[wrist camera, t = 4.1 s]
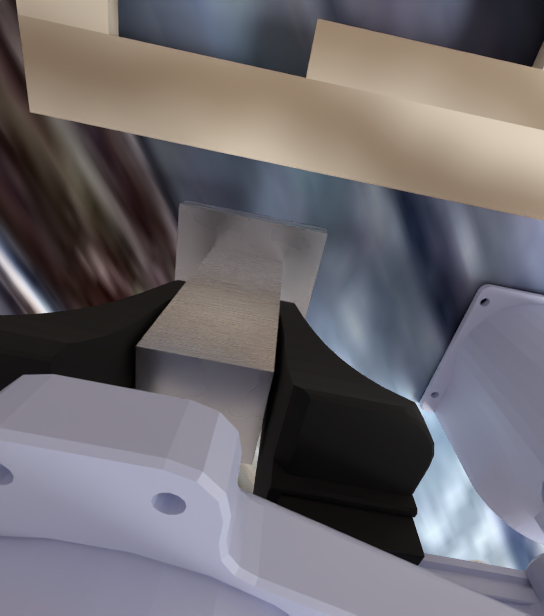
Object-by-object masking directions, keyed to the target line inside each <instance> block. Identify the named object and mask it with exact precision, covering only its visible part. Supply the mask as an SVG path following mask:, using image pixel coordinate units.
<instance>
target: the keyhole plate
mask: <svg viewBox="0 0 544 616" xmlns="http://www.w3.org/2000/svg"><path fill="white" fill-rule="evenodd" d="M16 5H17V13H18V21H19V29H20V37H21V45H22V53H23V61H24V69H25V77H26V84H27V92H28V100H29V108H30V112H32V113H37V114H41V115H46V116H51V117H56V118H60V119H65V120H70V121H75V122H79V123H84V124H89V125H94V126H98V127H103V128H108V129H112V130H117V131H122V132H127V133H131V134H136V135H141V136H146V137H150V138H155V139H160V140H165V141H169V142H174V143H179V144H184V145H188V146H193V147H198V148H203V149H207V150H212V151H217V152H221V153H226V154H231V155H236V156H240V157H245V158H250V159H255V160H259V161H264V162H269V163H274V164H278V165H283V166H288V167H293V168H297V169H302V170H307V171H312V172H316V173H321V174H326V175H331V176H335V177H340V178H345V179H349V180H354V181H359V182H364V183H368V184H373V185H378V186H383V187H387V188H392V189H397V190H402V191H406V192H411V193H416V194H421V195H425V196H430V197H435V198H440V199H444V200H449V201H454V202H458V203H463V204H468V205H473V206H477V207H482V208H487V209H492V210H496V211H501V212H506V213H511V214H515V215H520V216H525V217H530V218H534V219H539V220H544V41H543V44H542V46H541V48H540V50H539V53H538V55H537V57H536V59H535V61H534V64H533V66H532V67H529V66H524V65H520V64H516V63H511V62H507V61H502V60H498V59H494V58H489V57H485V56H480V55H476V54H472V53H467V52H463V51H458V50H454V49H450V48H445V47H441V46H436V45H432V44H428V43H423V42H419V41H414V40H410V39H406V38H401V37H397V36H392V35H388V34H384V33H379V32H375V31H370V30H366V29H362V28H357V27H353V26H348V25H344V24H340V23H335V22H331V21H326V20H322V19H317V24H316V29H315V34H314V39H313V45H312V50H311V55H310V60H309V65H308V70H307V75H306V78H304V77H300V76H295V75H291V74H286V73H282V72H277V71H272V70H268V69H263V68H259V67H254V66H250V65H245V64H241V63H236V62H232V61H227V60H223V59H218V58H214V57H209V56H205V55H200V54H195V53H191V52H186V51H182V50H177V49H173V48H168V47H164V46H159V45H155V44H150V43H146V42H141V41H137V40H132V39H128V38H123V37H119V32H118V0H16Z"/></svg>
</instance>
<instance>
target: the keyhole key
mask: <svg viewBox="0 0 544 616" xmlns="http://www.w3.org/2000/svg"><path fill="white" fill-rule="evenodd" d="M327 235H328V233H327V230H326V228H323V227H318V226H313V225H308V224H303V223H298V222H293V221H288V220H283V219H278V218H273V217H268V216H263V215H259V214H254V213H249V212H244V211H239V210H234V209H229V208H224V207H219V206H214V205H209V204H204V203H199V202H194V201H190V200H186V201H184V202H182V203H180V204H179V218H178V235H177V253H176V270H175V281H176V280H182V281H186V283H185V284H184V285H183V286H182V288H181V289H180V290H179V292H178V293H177V294H176V295H175V297H174V298H173V299H172V301H171V302H170V303H169V304H168V306H167V307H166V308H165V309H164V311H163V312H162V313H161V315H160V316H159V317H158V318H157V320H156V321H155V322H154V324H153V325H152V326H151V327H150V329H149V330H148V331H147V332H146V334H145V335H144V336H143V338H142V339H141V340H140V341H139V343H138V344H137V345H136V390H141V391H146V392H151V393H157V394H162V395H167V396H173V397H178V398H183V399H189V400H192V401H195V402H197V403H200V404H202V405H205V406H207V407H210V408H212V409H215V410H217V411H219V412H220V413H221V414H222V415H223V416H224V417H225V418H226V419H227V420H228V421H229V422H230V423H231V424H232V425H233V426H234V427H235V428H236V429H237V430H238V431H239V437H240V443H241V450H242V456H241V462H240V463H246V464H252V463H253V458H254V454H255V450H256V446H257V441H258V437H259V433H260V429H261V424H262V420H263V416H264V412H265V408H266V403H267V399H268V395H269V391H270V386H271V382H272V378H273V374H274V365H275V353H276V342H277V331H278V319H279V308H280V300H282V301H287V302H292V303H295V305H296V306H297V308H298V309H299V311H300V312H301V314H302V316H303V317H304V319H305V318H306V314H307V310H308V307H309V303H310V299H311V295H312V291H313V288H314V284H315V280H316V276H317V273H318V269H319V265H320V261H321V258H322V254H323V250H324V246H325V243H326V239H327Z"/></svg>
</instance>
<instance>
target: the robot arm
mask: <svg viewBox="0 0 544 616" xmlns="http://www.w3.org/2000/svg"><path fill="white" fill-rule="evenodd" d="M185 283H186V281H182V280H176V281H173V282H170V283H167V284H164V285H161V286H159V287H156V288H153V289H151V290H148V291H145V292H143V293H140V294H137V295H134V296H130V297H127V298H124V299H121V300H118V301H114V302H110V303H106V304H102V305H97V306H93V307H88V308H82V309H75V310H68V311H60V312H53V313H41V314H26V315H0V616H544V554H540V555H539V556H537V557H535V558H534V559H533V560H532V561H531V562H530V564H529V565H528V566H527V568H526V570H525V571H522V570H516V569H510V568H505V567H499V566H494V565H488V564H482V563H477V562H471V561H465V560H460V559H454V558H448V557H443V556H437V555H432V554H426V553H424V552H423V549H422V546H421V543H420V540H419V536H418V533H417V530H416V527H415V524H414V521H413V517H415V516H416V515H417V507H416V504H415V501H414V498H413V495H412V494H413V493H414V491H415V489H416V488H417V486H418V484H419V483H420V481H421V479H422V478H423V476H424V475H425V473H426V471H427V470H428V468H429V466H430V464H431V461H432V459H433V456H434V442H433V439H432V437H431V434H430V432H429V430H428V427H427V425H426V423H425V421H424V418H423V417H422V415H421V413H420V411H419V409H418V407H417V405H416V403H415V402H413V401H411V400H408V399H406V398H404V397H402V396H400V395H398V394H396V393H394V392H392V391H390V390H388V389H386V388H384V387H382V386H380V385H379V384H377V383H375V382H374V381H372V380H370V379H368V378H367V377H365V376H364V375H362V374H361V373H359V372H358V371H356V370H355V369H354V368H352V367H351V366H350V365H348V364H347V363H345V362H344V361H343V360H342V359H341V358H339V357H338V356H337V355H336V354H335V353H334V352H333V351H332V350H331V349H329V348H328V347H327V346H326V345H325V344H324V342H323V341H322V340H321V339H320V338H319V337H318V336H317V334H316V333H315V332H314V331H313V330H312V328H311V327H310V326H309V324H308V323H307V321H306V320H305V319H304V317H303V316H302V314H301V312H300V311H299V309H298V308H297V306H296V305H295V303H292V302H287V301H282V300H280V308H279V319H278V331H277V342H276V353H275V365H274V374H273V378H272V382H271V386H270V391H269V395H268V399H267V403H266V408H265V412H264V416H263V423H262V433H261V440H260V448H259V455H258V462H257V469H256V476H255V484H254V490H253V494H252V493H250V492H248V491H245V490H243V489H241V488H239V486H238V484H237V480H238V474H239V468H240V462H241V456H242V450H241V443H240V437H239V431H238V430H237V429H236V428H235V427H234V426H233V425H232V424H231V423H230V422H229V421H228V420H227V419H226V418H225V417H224V416H223V415H222V414H221V413H220V412H219V411H217V410H215V409H212V408H210V407H207V406H205V405H202V404H200V403H197V402H195V401H192V400H189V399H183V398H178V397H173V396H167V395H162V394H157V393H151V392H146V391H141V390H136V345H137V344H138V343H139V341H140V340H141V339H142V338H143V336H144V335H145V334H146V332H147V331H148V330H149V329H150V327H151V326H152V325H153V324H154V322H155V321H156V320H157V318H158V317H159V316H160V315H161V313H162V312H163V311H164V309H165V308H166V307H167V306H168V304H169V303H170V302H171V301H172V299H173V298H174V297H175V295H176V294H177V293H178V292H179V290H180V289H181V288H182V286H183V285H184V284H185ZM485 298H486V301H485V302H484V303H482V304H480V302H481V301H482V300H483V299H485ZM433 392H436V393H434V394H432V393H433ZM420 406H421V408H422V409H423V410H424V411H428V412H434V413H435V415H436V417H437V418H438V420H439V422H440V424H441V426H442V428H443V430H444V432H445V434H446V436H447V438H448V440H449V441H450V443H451V445H452V447H453V449H454V451H455V453H456V455H457V457H458V459H459V461H460V462H461V464H462V466H463V468H464V470H465V472H466V474H467V476H468V478H469V480H470V482H471V483H472V485H473V487H474V488H475V490H476V492H477V493H478V494H479V496H480V497H481V498H482V500H483V501H484V502H485V503H486V504H487V505H488V506H489V507H490V509H491V510H492V511H493V512H494V513H495V514H497V515H498V516H499V517H500V518H501V519H502V520H503V521H504V522H505V523H507V524H508V525H509V526H510V527H512V528H513V529H514V530H516V531H517V532H519V533H521V534H522V535H524V536H526V537H528V538H529V539H532V540H534V541H536V542H538V543H540V544H542V545H544V295H540V294H536V293H531V292H526V291H521V290H516V289H511V288H506V287H501V286H496V285H491V284H486V285H483V286H482V287H480V288H479V290H478V291H477V293H476V295H475V297H474V299H473V301H472V302H471V304H470V306H469V308H468V310H467V312H466V314H465V316H464V318H463V320H462V322H461V324H460V326H459V327H458V329H457V331H456V333H455V335H454V337H453V339H452V341H451V343H450V345H449V347H448V349H447V351H446V352H445V354H444V356H443V358H442V360H441V362H440V364H439V366H438V368H437V370H436V372H435V374H434V375H433V377H432V379H431V381H430V383H429V385H428V387H427V389H426V391H425V393H424V395H423V397H422V399H421V400H420Z"/></svg>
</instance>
